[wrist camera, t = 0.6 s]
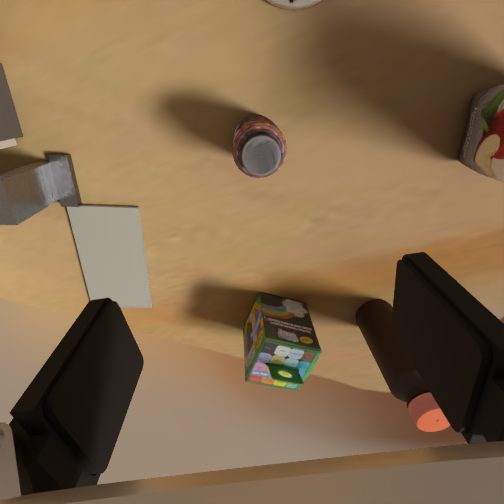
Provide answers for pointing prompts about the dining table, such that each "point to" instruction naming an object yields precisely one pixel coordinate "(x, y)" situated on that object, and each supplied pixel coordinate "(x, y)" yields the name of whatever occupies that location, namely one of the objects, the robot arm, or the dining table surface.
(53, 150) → the dining table surface
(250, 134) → the supplement bottle
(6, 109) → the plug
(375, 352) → the vinegar
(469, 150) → the juice carton
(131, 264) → the pad
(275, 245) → the dining table surface
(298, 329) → the chalk box
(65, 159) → the housing
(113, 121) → the dining table surface
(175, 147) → the dining table surface
